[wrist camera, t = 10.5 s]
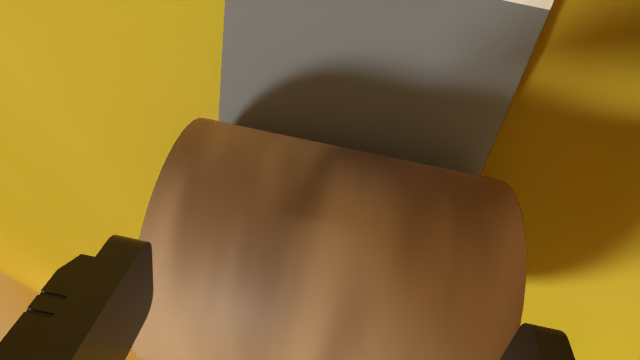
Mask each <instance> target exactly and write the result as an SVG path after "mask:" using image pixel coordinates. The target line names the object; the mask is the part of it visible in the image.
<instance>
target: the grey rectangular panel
mask: <svg viewBox="0 0 640 360" xmlns="http://www.w3.org/2000/svg"><path fill="white" fill-rule="evenodd" d="M553 2H554V0H225V15H224V33H223V51H222V69H221V87H220V105H219V121H220V122H224V123H229V124H234V125H239V126H243V127H248V128H253V129H258V130H263V131H267V132H272V133H277V134H282V135H287V136H291V137H296V138H301V139H306V140H310V141H315V142H320V143H325V144H330V145H334V146H339V147H344V148H349V149H354V150H358V151H363V152H368V153H373V154H377V155H382V156H387V157H392V158H397V159H401V160H406V161H411V162H416V163H421V164H425V165H430V166H435V167H440V168H444V169H449V170H454V171H459V172H464V173H468V174H473V175H478V176H480V174H481V172H482V169H483V167H484V165H485V162H486V160H487V158H488V155H489V153H490V150H491V148H492V146H493V143H494V141H495V139H496V136H497V134H498V132H499V129H500V127H501V125H502V122H503V120H504V117H505V115H506V113H507V110H508V108H509V106H510V103H511V101H512V99H513V96H514V94H515V92H516V89H517V87H518V84H519V82H520V80H521V77H522V75H523V73H524V70H525V68H526V66H527V63H528V61H529V59H530V56H531V54H532V51H533V49H534V47H535V44H536V42H537V40H538V37H539V35H540V33H541V30H542V28H543V26H544V23H545V21H546V18H547V16H548V14H549V11H550V9H551V7H552V4H553Z"/></svg>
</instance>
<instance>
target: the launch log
mask: <svg viewBox="0 0 640 360" xmlns="http://www.w3.org/2000/svg"><path fill="white" fill-rule="evenodd" d="M139 240H142V241H146V242H150V243H151V246H152V262H153V289H154V291H153V300H152V304H151V308H150V311H149V314H148V316H147V319H146V321H145V323H144V324H143V326H142V328H141V330H140V332H139V334H138V336H137V338H136V340H135V342H134V344H133V346H132V349H133V351H134V353H135V354H136V356H138V357H139V358H141V359H146V360H500V358H501V357H502V355H503V353H504V352H505V350H506V348H507V347H508V345H509V343H510V342H511V340H512V338H513V337H514V335H515V333H516V332H517V330H518V329H519V327H520V323H521V316H522V310H523V303H524V293H525V283H526V241H525V229H524V223H523V217H522V213H521V209H520V206H519V203H518V200H517V198H516V195H515V193H514V192H513V190H512V189H511V187H510V186H509V185H508V184H507V183H506V182H503V181H501V180H497V179H492V178H487V177H483V176H478V175H473V174H468V173H464V172H459V171H454V170H449V169H444V168H440V167H435V166H430V165H425V164H421V163H416V162H411V161H406V160H401V159H397V158H392V157H387V156H382V155H377V154H373V153H368V152H363V151H358V150H354V149H349V148H344V147H339V146H334V145H330V144H325V143H320V142H315V141H310V140H306V139H301V138H296V137H291V136H287V135H282V134H277V133H272V132H267V131H263V130H258V129H253V128H248V127H243V126H239V125H234V124H229V123H224V122H220V121H215V120H210V119H205V118H198V119H196V120H194V121H192V122H191V123H190V124H189V125H188V126H187V127H186V128H185V129H184V131H183V132H182V133H181V134H180V136H179V137H178V139H177V141H176V142H175V144H174V146H173V147H172V149H171V151H170V153H169V155H168V157H167V159H166V161H165V163H164V165H163V167H162V170H161V172H160V175H159V177H158V180H157V182H156V185H155V187H154V190H153V193H152V196H151V199H150V202H149V205H148V208H147V211H146V215H145V218H144V221H143V225H142V229H141V233H140V237H139Z"/></svg>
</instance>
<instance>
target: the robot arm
mask: <svg viewBox="0 0 640 360" xmlns="http://www.w3.org/2000/svg"><path fill="white" fill-rule="evenodd" d="M153 291H154V289H153V262H152V246H151V243H150V242H146V241H142V240H137V239H132V238H127V237H123V236H118V235H113V236H111V237H110V238H109V239H108V240H107V242H106V243H105V244H104V246H103V247H102V249H101V250H100V251H99V253H98V254H97V255H96V257H93V256H88V255H83V254H81V255H79V256H78V257H76V258H75V259H73V260H72V261H70V262H69V263H67V264H66V265H64V266H62V267H61V268H59V269H58V270H57V271H56V272H55V274H54V275H53V276H52V277H51V279H50V280H49V281H48V282H47V284H46V285H45V286H44V287H43V289H42V290H41V293H40V295H37V296H36V298H35V299H34V300H33V301H32V303H31V304H30V305H29V307H28V309H27V311H26V313H25V312H24V313H23V314H22V315H21V317H20V318H19V319H18V320H17V322H16V323H15V324H14V325H13V327H12V328H11V329H10V330H9V332H8V333H7V334H6V336H5V337H4V338H3V340H2V341H1V342H0V360H125V359H126V357H127V355H128V353H129V351H130V349H131V347H132V346H133V344H134V342H135V340H136V338H137V336H138V334H139V332H140V330H141V328H142V326H143V324H144V323H145V321H146V319H147V316H148V314H149V311H150V308H151V304H152V300H153ZM500 360H575V358H574V355H573V352H572V349H571V346H570V343H569V340H568V338H567V336H566V334H565V333H564V332H562V331H560V330H555V329H551V328H546V327H541V326H537V325H532V324H527V323H524V324H522V325H521V326H520V327H519V329H518V330H517V332H516V333H515V335H514V337H513V338H512V340H511V342H510V343H509V345H508V347H507V348H506V350H505V352H504V353H503V355H502V357H501V358H500Z"/></svg>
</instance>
